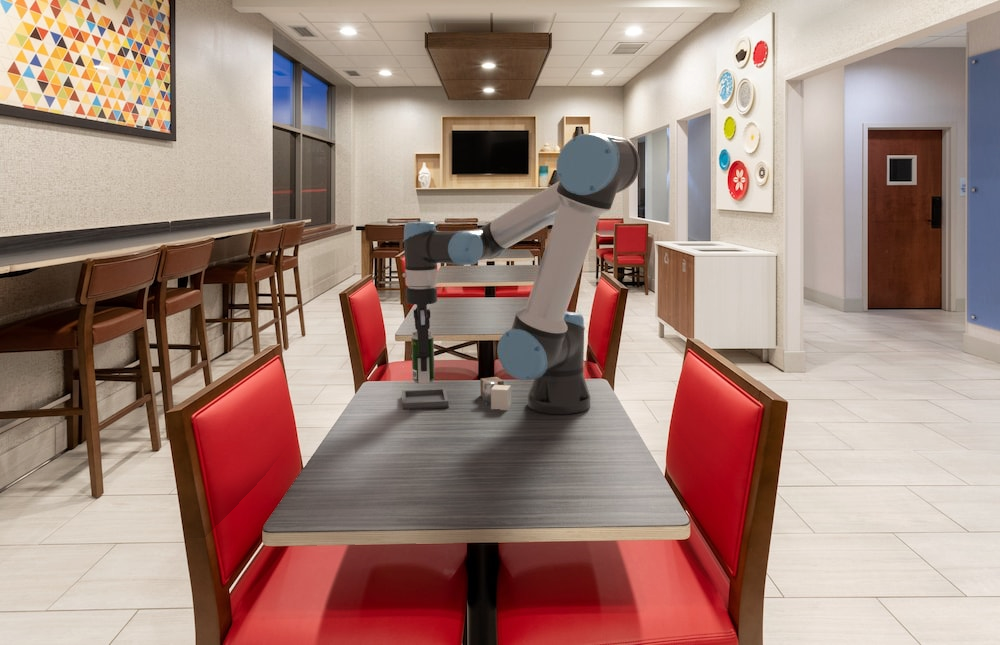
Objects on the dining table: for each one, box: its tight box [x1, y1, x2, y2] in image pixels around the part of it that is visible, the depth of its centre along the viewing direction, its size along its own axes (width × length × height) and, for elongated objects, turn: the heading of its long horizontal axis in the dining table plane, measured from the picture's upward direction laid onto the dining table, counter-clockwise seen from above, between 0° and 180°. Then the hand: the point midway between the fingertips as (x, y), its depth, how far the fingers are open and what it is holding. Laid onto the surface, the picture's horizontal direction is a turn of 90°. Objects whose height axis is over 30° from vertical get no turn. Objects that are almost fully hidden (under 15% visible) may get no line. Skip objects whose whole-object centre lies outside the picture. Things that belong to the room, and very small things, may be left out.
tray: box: [401, 387, 450, 411], centre depth 175 cm, size 11×11×2 cm
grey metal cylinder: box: [482, 381, 498, 405], centre depth 173 cm, size 4×4×5 cm
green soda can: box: [410, 330, 435, 384], centre depth 173 cm, size 5×5×12 cm
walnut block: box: [479, 376, 505, 398], centre depth 178 cm, size 4×4×4 cm
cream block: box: [490, 384, 512, 411], centre depth 169 cm, size 4×4×5 cm
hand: (423, 379), depth 174 cm, fingers closed on green soda can, 5 cm apart
